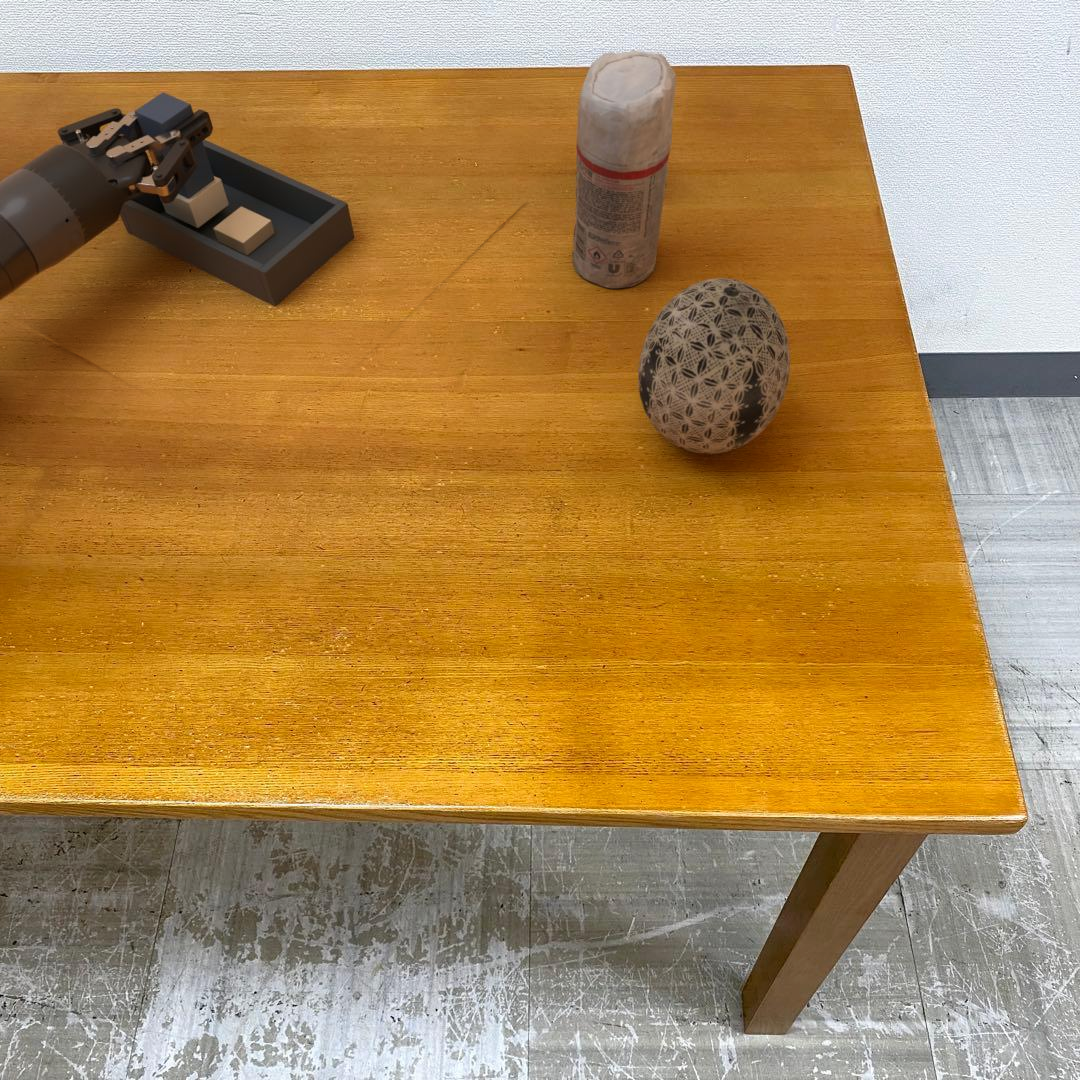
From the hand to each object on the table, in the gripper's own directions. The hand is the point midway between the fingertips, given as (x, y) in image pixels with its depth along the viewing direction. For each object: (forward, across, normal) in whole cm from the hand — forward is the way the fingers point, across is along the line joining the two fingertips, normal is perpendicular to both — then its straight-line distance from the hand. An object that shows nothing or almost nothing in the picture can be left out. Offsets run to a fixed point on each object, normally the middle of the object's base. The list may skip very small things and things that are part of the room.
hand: (190, 112), depth 95 cm
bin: (-3, -5, +10) cm, 12 cm away
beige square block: (-3, -6, +10) cm, 12 cm away
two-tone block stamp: (-3, 0, +9) cm, 9 cm away
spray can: (+14, -38, +11) cm, 42 cm away
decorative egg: (+1, -55, +11) cm, 56 cm away
